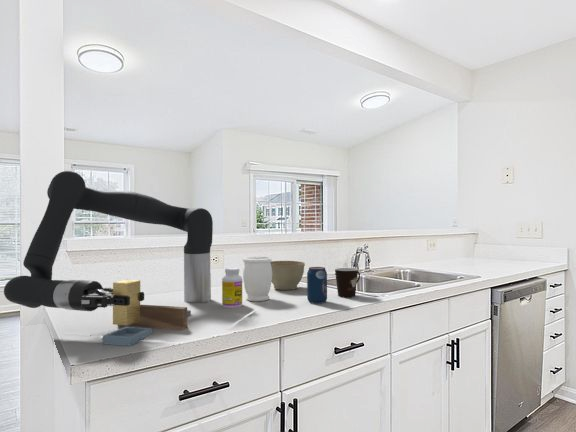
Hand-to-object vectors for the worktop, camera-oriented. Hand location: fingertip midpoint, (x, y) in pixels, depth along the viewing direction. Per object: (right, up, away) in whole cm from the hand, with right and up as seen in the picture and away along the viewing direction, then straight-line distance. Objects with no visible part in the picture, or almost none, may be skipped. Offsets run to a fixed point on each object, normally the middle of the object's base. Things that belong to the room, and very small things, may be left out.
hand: (136, 298), depth 97 cm
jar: (+26, -10, +48) cm, 56 cm away
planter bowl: (+36, -11, +70) cm, 80 cm away
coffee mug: (+60, -10, +53) cm, 81 cm away
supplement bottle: (+18, -10, +35) cm, 41 cm away
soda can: (+47, -10, +42) cm, 64 cm away
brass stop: (-3, -6, +1) cm, 6 cm away
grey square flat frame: (+3, -10, +20) cm, 23 cm away
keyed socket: (-2, -10, +1) cm, 10 cm away
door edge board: (0, -10, +10) cm, 15 cm away
